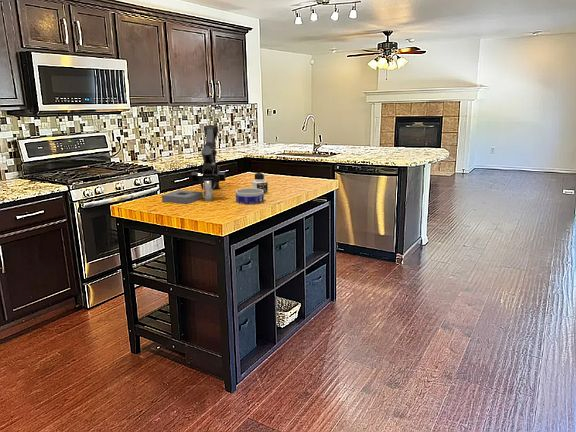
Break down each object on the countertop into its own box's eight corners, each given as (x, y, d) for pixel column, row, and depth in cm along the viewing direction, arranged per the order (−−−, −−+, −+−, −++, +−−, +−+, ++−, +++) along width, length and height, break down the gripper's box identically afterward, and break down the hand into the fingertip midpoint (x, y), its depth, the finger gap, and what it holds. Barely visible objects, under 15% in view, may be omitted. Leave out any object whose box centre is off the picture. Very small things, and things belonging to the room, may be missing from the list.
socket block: (178, 195, 256) (178, 190, 255) (203, 197, 251) (202, 191, 250) (162, 201, 241) (161, 195, 241) (187, 203, 236) (187, 197, 235)
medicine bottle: (256, 194, 259) (256, 174, 256) (252, 192, 265) (251, 172, 262) (267, 193, 262) (267, 173, 259) (263, 191, 268) (262, 171, 265)
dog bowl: (246, 197, 253) (246, 187, 251) (269, 200, 245) (269, 189, 244) (230, 202, 240) (229, 191, 239) (253, 205, 233) (253, 194, 231)
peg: (210, 199, 248) (209, 179, 245) (213, 200, 244) (213, 181, 241) (203, 200, 245) (202, 180, 242) (206, 201, 242) (205, 181, 239)
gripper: (190, 157, 242) (188, 181, 234) (224, 157, 243) (224, 180, 235) (192, 169, 251) (191, 192, 243) (225, 169, 253) (225, 191, 245)
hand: (207, 189), depth 242 cm, fingers open, 5 cm apart
